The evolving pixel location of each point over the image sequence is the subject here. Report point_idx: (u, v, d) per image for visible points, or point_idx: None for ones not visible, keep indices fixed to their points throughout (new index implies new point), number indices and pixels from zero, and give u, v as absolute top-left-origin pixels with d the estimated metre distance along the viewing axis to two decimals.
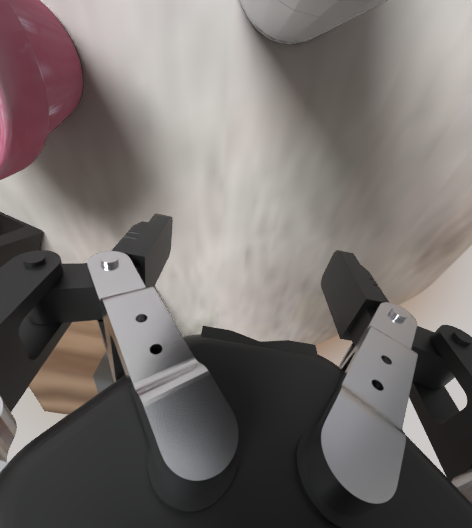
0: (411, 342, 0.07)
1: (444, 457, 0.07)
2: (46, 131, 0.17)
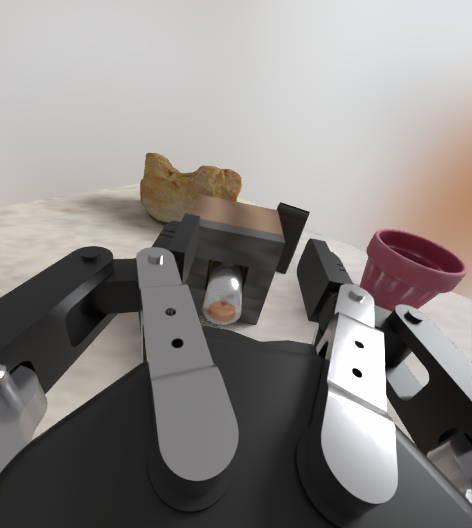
0: (364, 318, 0.08)
1: (414, 431, 0.08)
2: (414, 285, 0.38)
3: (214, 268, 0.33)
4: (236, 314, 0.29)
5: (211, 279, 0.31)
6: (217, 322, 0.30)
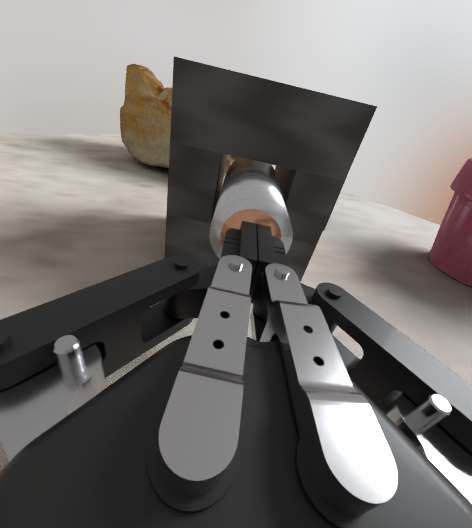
0: (280, 293, 0.08)
1: None
2: None
3: (230, 174, 0.18)
4: None
5: (225, 186, 0.16)
6: None
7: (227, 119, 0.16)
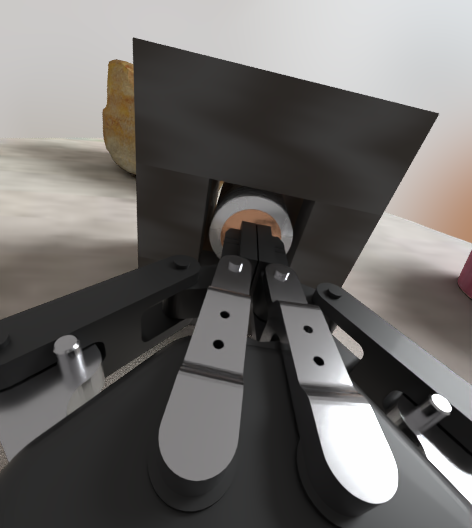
0: (280, 293, 0.08)
1: None
2: None
3: None
4: None
5: (226, 186, 0.16)
6: None
7: (216, 131, 0.11)
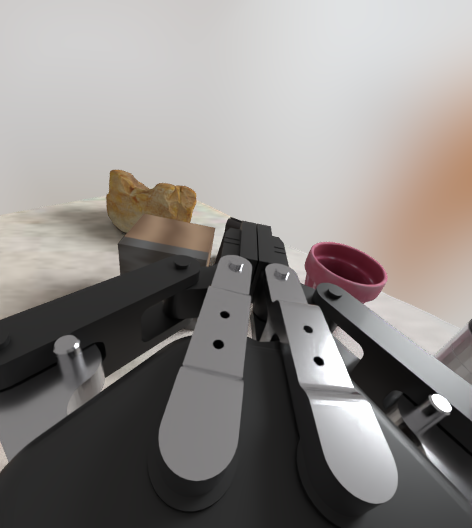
0: (280, 293, 0.08)
1: None
2: None
3: None
4: None
5: None
6: None
7: (144, 262, 0.35)
